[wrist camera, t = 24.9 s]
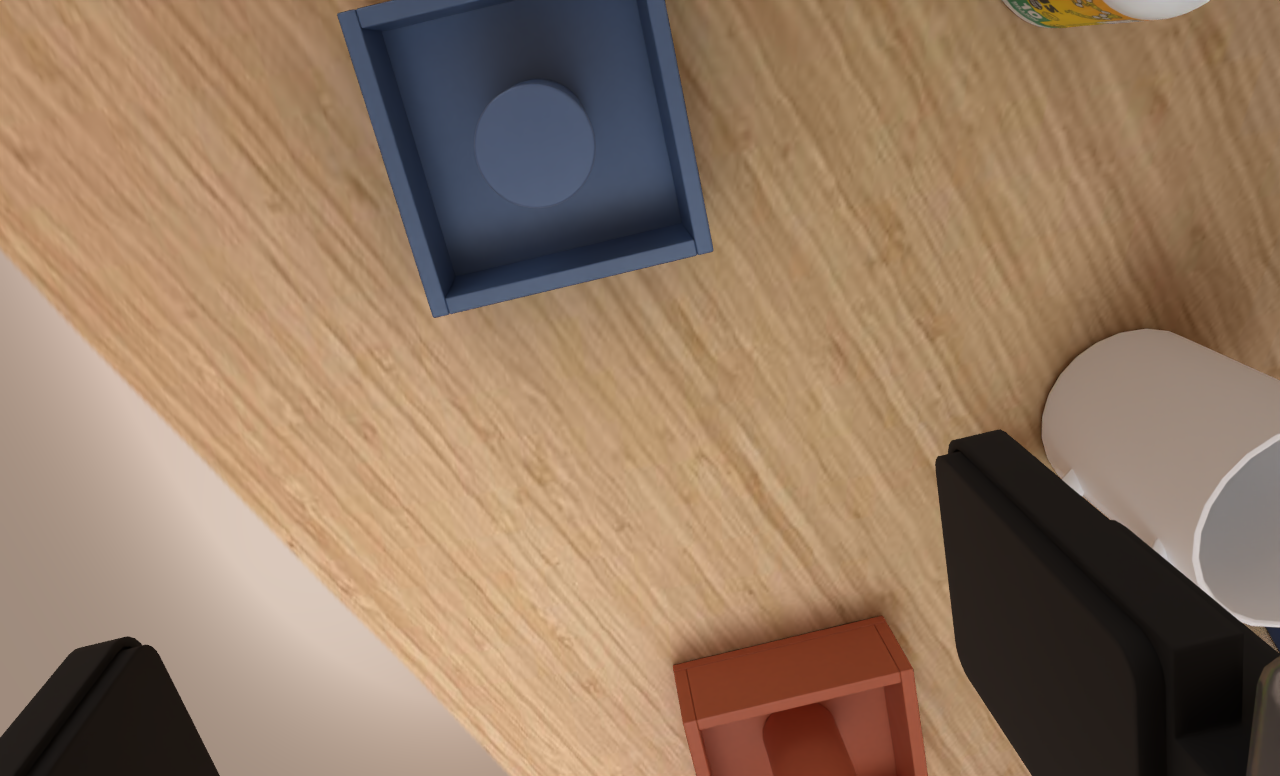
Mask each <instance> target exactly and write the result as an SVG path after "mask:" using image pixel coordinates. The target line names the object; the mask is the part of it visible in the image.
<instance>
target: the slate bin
mask: <svg viewBox="0 0 1280 776" xmlns="http://www.w3.org/2000/svg"><path fill="white" fill-rule="evenodd" d="M337 16H338V19H339V22H340V25H341V28H342V32H343V35H344V38H345V41H346V44H347V47H348V51H349V54H350V57H351V60H352V63H353V66H354V69H355V73H356V76H357V79H358V82H359V85H360V88H361V92H362V95H363V98H364V101H365V104H366V107H367V110H368V114H369V117H370V120H371V123H372V126H373V129H374V133H375V136H376V139H377V142H378V145H379V148H380V152H381V155H382V158H383V161H384V164H385V167H386V170H387V174H388V177H389V180H390V183H391V186H392V189H393V193H394V196H395V199H396V202H397V205H398V208H399V211H400V215H401V218H402V221H403V224H404V227H405V230H406V234H407V237H408V240H409V243H410V246H411V249H412V253H413V256H414V259H415V262H416V265H417V268H418V271H419V275H420V278H421V281H422V284H423V287H424V290H425V294H426V297H427V300H428V303H429V306H430V309H431V312H432V316H433V317H434V318H436V317H440V316H445V315H448V314H449V313H450V314H453V313H457V312H462V311H466V310H470V309H474V308H478V307H483V306H487V305H491V304H495V303H499V302H504V301H508V300H512V299H516V298H520V297H525V296H529V295H533V294H537V293H541V292H546V291H550V290H554V289H558V288H562V287H567V286H571V285H575V284H579V283H584V282H588V281H592V280H596V279H600V278H605V277H609V276H613V275H617V274H621V273H626V272H630V271H634V270H638V269H642V268H647V267H651V266H655V265H659V264H663V263H668V262H672V261H676V260H680V259H684V258H689V257H693V256H696V255H697V254H698V255H701V254H705V253H709V252H712V251H713V245H712V239H711V234H710V229H709V224H708V219H707V214H706V209H705V204H704V198H703V193H702V188H701V183H700V178H699V173H698V168H697V163H696V157H695V152H694V147H693V142H692V137H691V132H690V127H689V121H688V116H687V111H686V106H685V101H684V96H683V91H682V86H681V80H680V75H679V70H678V65H677V60H676V55H675V50H674V45H673V39H672V34H671V29H670V24H669V19H668V14H667V9H666V3H665V0H391V1H387V2H383V3H379V4H374V5H370V6H366V7H362V8H358V9H356V10H354V9H353V10H349V11H345V12H341V13H338V14H337ZM530 79H547V80H551V81H555V82H557V83H560V84H561V85H563V86H565V87H566V88H568V89H569V90H570V91H572V92H573V93H574V94H575V95H576V97H577V98H578V99H579V100H580V102H581V104H582V105H583V107H584V109H585V111H586V114H587V116H588V118H589V121H590V123H591V125H592V128H593V132H594V136H595V145H596V151H595V160H594V164H593V167H592V170H591V173H590V175H589V177H588V179H587V180H586V182H585V183H584V185H583V186H582V187H581V188H580V189H579V191H578V192H577V193H575V194H574V195H573V196H572V197H570V198H569V199H567V200H566V201H564V202H562V203H560V204H557V205H554V206H551V207H545V208H528V207H523V206H519V205H516V204H514V203H511V202H509V201H507V200H506V199H504V198H503V197H501V196H500V195H498V194H497V193H496V192H495V191H494V190H493V189H492V188H491V187H490V186H489V185H488V183H487V182H486V181H485V179H484V178H483V176H482V174H481V172H480V170H479V167H478V165H477V162H476V157H475V152H474V136H475V130H476V126H477V123H478V120H479V118H480V116H481V114H482V112H483V111H484V109H485V108H486V106H487V105H488V104H489V103H490V102H491V101H492V100H493V99H494V98H495V97H496V96H497V95H499V94H500V93H502V92H503V91H505V90H507V89H509V88H510V87H512V86H514V85H516V84H518V83H520V82H523V81H526V80H530Z"/></svg>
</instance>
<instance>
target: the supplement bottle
mask: <svg viewBox="0 0 1280 776" xmlns="http://www.w3.org/2000/svg"><path fill="white" fill-rule="evenodd" d="M1002 1H1003V2H1004V3H1005V5H1006V6H1007V7H1009V8H1010V9H1011V10H1012V11H1013V12H1014V13H1015V14H1016V15H1017V16H1019V17H1020V18H1021V19H1023V20H1024V21H1026V22H1028V23H1030V24H1033V25H1035V26H1039V27H1045V28H1067V27H1076V26H1086V25H1098V24H1114V23H1127V22H1139V21H1150V20H1161V19H1167V18H1172V17H1176V16H1179V15H1182V14H1186V13H1188V12H1190V11H1192V10H1195V9H1197V8H1198V7H1200V6H1202V5H1204V4H1205V3H1207V2H1209V1H1210V0H1002Z"/></svg>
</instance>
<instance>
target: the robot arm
mask: <svg viewBox="0 0 1280 776" xmlns="http://www.w3.org/2000/svg"><path fill="white" fill-rule="evenodd" d="M935 466H936V478H937V486H938V495H939V503H940V512H941V521H942V529H943V538H944V547H945V555H946V564H947V573H948V581H949V590H950V599H951V607H952V616H953V625H954V633H955V642H956V648H957V652H958V656H959V659H960V662H961V665H962V667H963V669H964V672H965V673H966V675H967V677H968V679H969V680H970V682H971V683H972V685H973V686H974V688H975V689H976V691H977V692H978V694H979V695H980V697H981V699H982V700H983V702H984V703H985V705H986V706H987V708H988V709H989V711H990V712H991V714H992V715H993V717H994V718H995V720H996V721H997V723H998V724H999V726H1000V728H1001V729H1002V731H1003V732H1004V734H1005V735H1006V737H1007V738H1008V740H1009V741H1010V743H1011V744H1012V746H1013V747H1014V749H1015V750H1016V752H1017V753H1018V755H1019V756H1020V758H1021V760H1022V761H1023V763H1024V764H1025V766H1026V767H1027V769H1028V770H1029V772H1030V773H1031V775H1032V776H1280V654H1279V653H1278V652H1277V651H1275V650H1274V649H1273V648H1272V647H1271V646H1269V645H1268V644H1267V643H1266V642H1264V641H1263V640H1262V639H1261V638H1260V637H1258V636H1257V635H1256V634H1255V633H1254V632H1252V631H1251V630H1250V629H1249V628H1248V627H1246V626H1245V625H1244V624H1243V623H1242V622H1240V621H1239V620H1238V619H1237V618H1236V617H1234V616H1233V615H1232V614H1231V613H1230V612H1228V611H1227V610H1226V609H1225V608H1223V607H1222V606H1221V605H1220V604H1219V603H1217V602H1216V601H1215V600H1214V599H1213V598H1211V597H1210V596H1209V595H1208V594H1207V593H1205V592H1204V591H1203V590H1202V589H1201V588H1199V587H1198V586H1197V585H1196V584H1195V583H1193V582H1192V581H1191V580H1190V579H1189V578H1187V577H1186V576H1185V575H1184V574H1183V573H1181V572H1180V571H1179V570H1178V569H1176V568H1175V567H1174V566H1173V565H1172V564H1170V563H1169V562H1168V561H1167V560H1166V559H1164V558H1163V557H1162V556H1161V555H1160V554H1158V553H1157V552H1156V551H1155V550H1154V549H1152V548H1151V547H1150V546H1149V545H1148V544H1146V543H1145V542H1144V541H1143V540H1142V539H1140V538H1139V537H1138V536H1137V535H1136V534H1134V533H1133V532H1132V531H1131V530H1129V529H1128V528H1127V527H1126V526H1124V525H1122V524H1121V523H1119V522H1118V521H1116V520H1109V519H1108V518H1107V517H1106V516H1104V515H1103V514H1102V513H1101V512H1100V511H1098V510H1097V509H1096V508H1095V507H1094V506H1093V505H1091V504H1090V503H1089V502H1088V501H1087V500H1085V499H1084V498H1083V497H1082V496H1081V495H1079V494H1078V493H1077V492H1076V491H1075V490H1074V489H1072V488H1071V487H1070V486H1069V485H1068V484H1066V483H1065V482H1064V481H1063V480H1062V479H1060V478H1059V477H1058V476H1057V475H1056V474H1055V473H1053V472H1052V471H1051V470H1050V469H1049V468H1047V467H1046V466H1045V465H1044V464H1043V463H1041V462H1040V461H1039V460H1038V459H1037V458H1036V457H1034V456H1033V455H1032V454H1031V453H1030V452H1028V451H1027V450H1026V449H1025V448H1024V447H1022V446H1021V445H1020V444H1019V443H1018V442H1017V441H1015V440H1014V439H1013V438H1012V437H1011V436H1009V435H1008V434H1007V433H1006V432H1004V431H1002V430H1001V429H1000V430H994V431H990V432H986V433H982V434H978V435H973V436H969V437H965V438H961V439H956V440H952V441H951V443H950V444H949V449H948V454H947V455H942V456H938V457H937V459H936V464H935ZM0 776H220V775H219V774H218V772H217V769H216V767H215V765H214V763H213V761H212V759H211V757H210V755H209V753H208V752H207V749H206V747H205V745H204V744H203V742H202V739H201V738H200V735H199V734H198V732H197V729H196V727H195V726H194V723H193V721H192V719H191V717H190V715H189V714H188V711H187V710H186V707H185V705H184V704H183V702H182V700H181V697H180V696H179V694H178V692H177V689H176V688H175V686H174V684H173V682H172V680H171V678H170V676H169V674H168V672H167V670H166V668H165V666H164V664H163V662H162V660H161V658H160V656H159V654H158V653H157V651H156V650H155V649H154V648H153V647H152V646H149V645H142V644H141V643H140V642H139V641H137V640H136V639H135V638H131V637H123V638H119V639H115V640H111V641H107V642H102V643H98V644H94V645H89V646H85V647H81V648H78V649H75V650H74V651H73V652H72V653H70V654H69V655H68V657H67V658H66V659H65V660H64V662H63V663H62V664H61V665H60V666H59V667H58V669H57V670H56V671H55V672H54V674H53V675H52V676H51V677H50V678H49V679H48V681H47V682H46V683H45V684H44V686H43V687H42V688H41V689H40V690H39V692H38V693H37V694H36V695H35V696H34V698H33V699H32V700H31V701H30V702H29V704H28V705H27V706H26V707H25V709H24V710H23V711H22V712H21V713H20V714H19V716H18V717H17V718H16V719H15V721H14V722H13V723H12V724H11V725H10V727H9V728H8V729H7V730H6V731H5V733H4V734H3V735H2V736H1V737H0Z"/></svg>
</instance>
